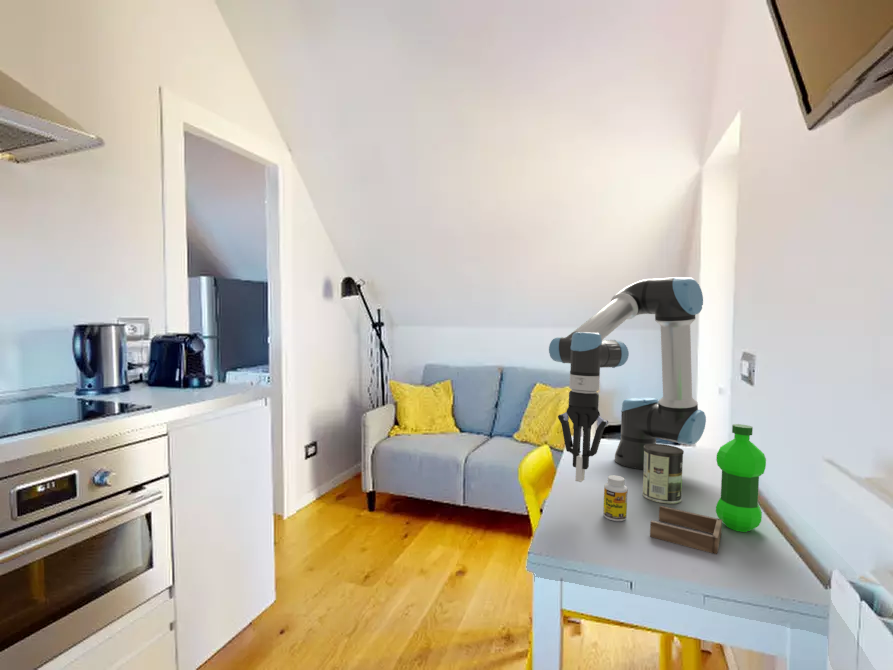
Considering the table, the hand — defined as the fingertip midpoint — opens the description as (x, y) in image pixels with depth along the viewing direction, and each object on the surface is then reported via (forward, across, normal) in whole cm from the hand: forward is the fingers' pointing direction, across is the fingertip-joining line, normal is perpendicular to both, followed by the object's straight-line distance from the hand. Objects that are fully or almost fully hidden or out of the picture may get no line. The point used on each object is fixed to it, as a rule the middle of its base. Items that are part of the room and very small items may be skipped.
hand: (579, 480), depth 124 cm
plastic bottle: (+8, +35, +14) cm, 38 cm away
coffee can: (+8, +16, +24) cm, 29 cm away
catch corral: (+8, +25, 0) cm, 26 cm away
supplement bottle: (+8, +9, 0) cm, 12 cm away
